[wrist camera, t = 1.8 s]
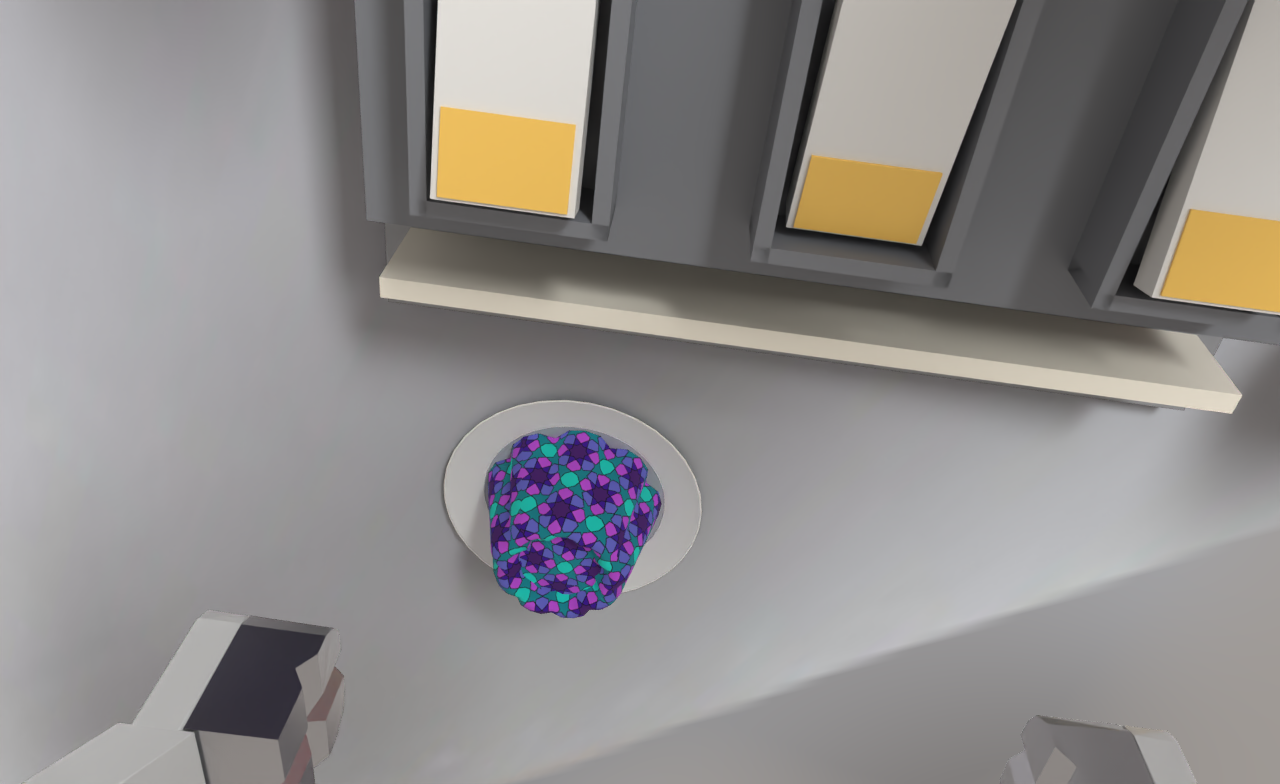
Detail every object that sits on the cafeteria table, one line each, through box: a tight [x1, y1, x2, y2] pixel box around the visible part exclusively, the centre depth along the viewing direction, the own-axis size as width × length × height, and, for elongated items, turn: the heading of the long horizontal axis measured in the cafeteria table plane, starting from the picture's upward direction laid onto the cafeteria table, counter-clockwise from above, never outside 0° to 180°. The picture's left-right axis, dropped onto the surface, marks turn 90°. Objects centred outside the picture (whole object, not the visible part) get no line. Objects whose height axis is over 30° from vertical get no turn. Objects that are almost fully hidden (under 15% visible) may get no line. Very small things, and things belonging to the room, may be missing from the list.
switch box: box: [354, 0, 1280, 414], centre depth 30 cm, size 20×32×8 cm, turn 84°
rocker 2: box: [786, 0, 1017, 246], centre depth 25 cm, size 9×4×1 cm, turn 174°
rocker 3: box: [1134, 0, 1280, 315], centre depth 25 cm, size 9×4×1 cm, turn 173°
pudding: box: [444, 400, 702, 618], centre depth 43 cm, size 12×12×5 cm
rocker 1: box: [430, 0, 600, 218], centre depth 25 cm, size 9×4×1 cm, turn 173°
